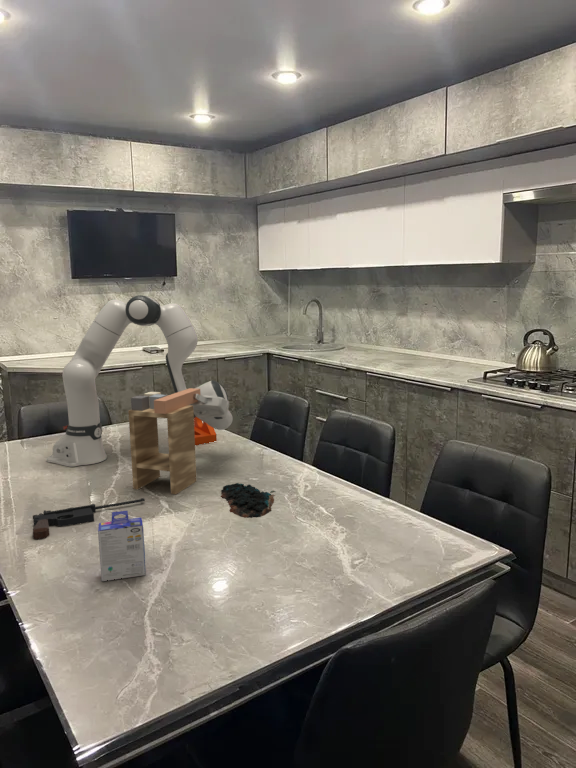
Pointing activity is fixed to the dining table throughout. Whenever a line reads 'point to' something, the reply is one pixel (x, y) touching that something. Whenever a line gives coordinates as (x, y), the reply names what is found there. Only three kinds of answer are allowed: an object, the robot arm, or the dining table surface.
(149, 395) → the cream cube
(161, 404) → the terracotta bar
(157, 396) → the slate cube
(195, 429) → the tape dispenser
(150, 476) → the oak shelf
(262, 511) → the mineral specimen
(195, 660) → the dining table surface
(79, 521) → the firearm
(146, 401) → the charcoal cube
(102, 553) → the ink cartridge box
